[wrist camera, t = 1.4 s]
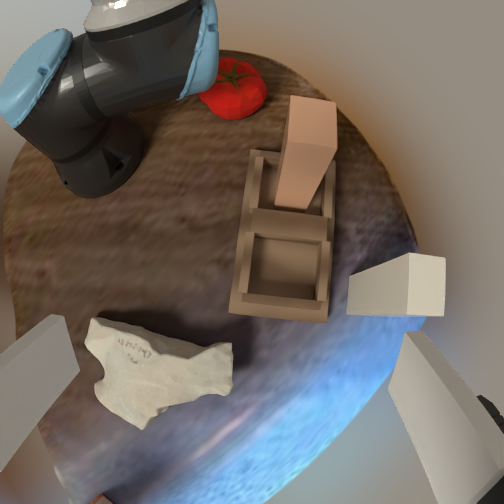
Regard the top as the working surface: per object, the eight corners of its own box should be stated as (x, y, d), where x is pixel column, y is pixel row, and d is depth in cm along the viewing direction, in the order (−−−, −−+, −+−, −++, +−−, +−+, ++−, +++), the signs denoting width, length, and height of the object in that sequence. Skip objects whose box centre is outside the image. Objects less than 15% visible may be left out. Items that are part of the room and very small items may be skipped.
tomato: (226, 136, 41) (223, 109, 35) (189, 96, 43) (182, 69, 37) (277, 107, 42) (281, 79, 36) (237, 71, 44) (236, 44, 38)
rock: (224, 441, 33) (244, 340, 35) (217, 458, 29) (239, 348, 30) (90, 393, 36) (97, 300, 37) (72, 402, 31) (78, 301, 32)
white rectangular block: (346, 314, 36) (406, 314, 20) (349, 276, 37) (409, 252, 21) (373, 316, 36) (443, 315, 20) (376, 279, 37) (445, 258, 21)
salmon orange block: (273, 208, 37) (287, 140, 22) (277, 174, 38) (290, 95, 23) (304, 212, 37) (337, 148, 21) (306, 177, 38) (335, 102, 22)
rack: (323, 322, 36) (331, 323, 32) (229, 312, 36) (226, 312, 32) (333, 165, 40) (340, 152, 36) (250, 154, 40) (250, 139, 37)
